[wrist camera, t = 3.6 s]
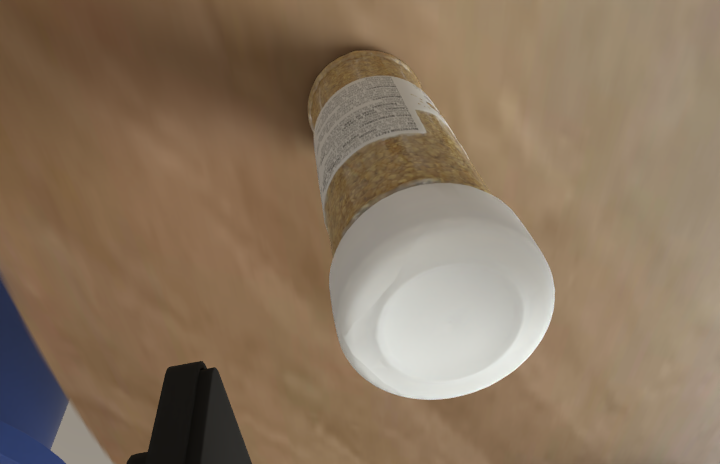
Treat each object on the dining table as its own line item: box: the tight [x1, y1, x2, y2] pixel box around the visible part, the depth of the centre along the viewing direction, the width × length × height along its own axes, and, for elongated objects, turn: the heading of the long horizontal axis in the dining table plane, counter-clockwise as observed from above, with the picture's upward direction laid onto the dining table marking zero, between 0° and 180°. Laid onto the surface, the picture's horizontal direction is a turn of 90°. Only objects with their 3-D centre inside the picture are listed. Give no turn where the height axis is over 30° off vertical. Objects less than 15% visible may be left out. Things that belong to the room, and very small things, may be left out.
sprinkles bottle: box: [308, 50, 555, 400], centre depth 18 cm, size 5×5×14 cm
